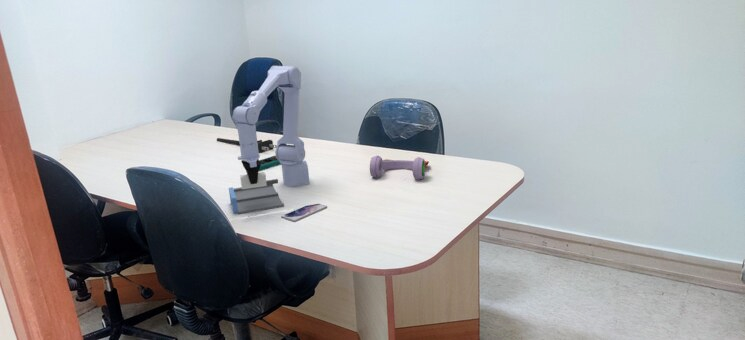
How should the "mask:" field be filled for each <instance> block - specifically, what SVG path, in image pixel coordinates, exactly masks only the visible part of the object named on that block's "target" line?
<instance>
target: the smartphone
mask: <svg viewBox="0 0 745 340" xmlns="http://www.w3.org/2000/svg"><path fill="white" fill-rule="evenodd" d="M326 209H328V206H327V205H324V204H321V203H316V204H315V203H314V204H309V205H304V206H303V207H299V208H297V209H294V210H293V211H289V212H287V213H285V214H283V215H281V216H280V218H281V219H283V220H286V221H287V220H288V221H289V222H292V223H296V222H300V221H301V220H303V219H305V218H308V217H309V216H312V215H314V214H316V213H319V212H321V211H323V210H326Z"/></svg>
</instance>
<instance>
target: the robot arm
mask: <svg viewBox="0 0 745 340" xmlns="http://www.w3.org/2000/svg"><path fill="white" fill-rule="evenodd" d="M301 82H302V72H301V70H300V69H299V67H297V66H296V65H288V66H287V65H272V66H271V67H270V68H269V70H267V77H266V78H265V80H264V82H263V83H262V84H261V86H260V87H259V89H258V90H253V91H251V93H250V94H249V95H248V97H247V99H245V101H244V102H243V103H242V105H239V106H236V107H235V108H234V109H233V111H232V115H231V118H232V121H233V123H234V124H235V128H236V129H237V133H238V135H237V136H238V141H239V143H240V145H239V149H240V150H239V151H240V155H239V156H237V160H239V161H241V164H242V167H243V168H244V170H245V172H246V175H247V174H248V177H249V181H250V183H251V184H257V181H258V173H260V171H259V169H260V166H261V163H258V161H259V160H260V156H261V155H260V153H259V152H258V143H257V141H258V137H257V136H258V135H257V126H256V123H258V121H259V116H260V113H261V111H262V109H263V108H264V107H265V105H266V104H267V102H268V97H269V95H270V94H271V93H272V92H273V91H274V90H275V89H276V88H279V89H281V90H282V92H283V94H284V95H283V97H284V99H283V101H284V103H283V127H282V128H283V129H282V130H283V131H282V132H283V133H282V136H281V138H279V139H278V140H277V143H276V145H277V148H275V152H274V153H275V156H276V158H277V159H278V160H279V161H280V163H281V173H282V174H281V175H282V182H283V186H285V187H287V188H288V187H290V188H291V187H299V186H302V185H308V184H310V175H309V167H308V162H307V161H306V160H305V158H306V150H305V143H304V140H302V139H301V138H300V137H299V136H298V135H299V113H300V112H299V109H300V108H299V107H300V90H301V88H302V87H301V86H302V85H301Z"/></svg>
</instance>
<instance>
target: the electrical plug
mask: <svg viewBox="0 0 745 340" xmlns="http://www.w3.org/2000/svg"><path fill="white" fill-rule="evenodd" d="M216 141H217V142H220V143H225V144H232V145H237V146H240V143H239V140H235V139H229V138H221V137H217V138H216ZM257 143H258V152H259V154H262V153H265V152H269V151H272V150H273V149H276V148H277V144H274V142H273V140H272V139H266V140H262V139H260V140H257Z"/></svg>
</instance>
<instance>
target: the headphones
mask: <svg viewBox="0 0 745 340" xmlns="http://www.w3.org/2000/svg"><path fill="white" fill-rule="evenodd" d="M429 163H430V162H429V161H427V160H425V159H424V158H422V157H420V156H418V157H415V159H414V160H404V159H403V160H402V159H401V160H399V159H387V158H385V159H383V158H382V157H381V156H379V155H375V156H372V157H371V158H370V162H369V174H370V176H371V177H373V178H375V179H378V178H380V177H382V174H383V171H384V170H409V171H412V176H413V178H414V179H415V180H416V181H417V180H418V181H420V180H422V179H424V178H425V175H426V167H427V166H428V165H429Z"/></svg>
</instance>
